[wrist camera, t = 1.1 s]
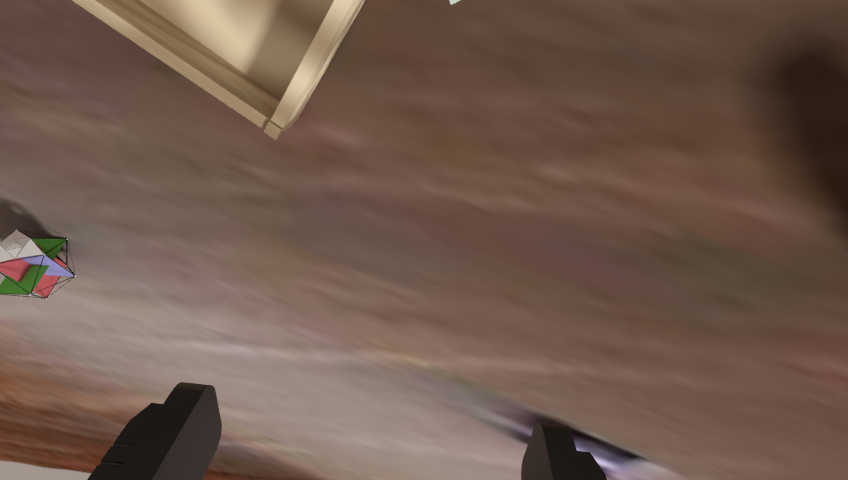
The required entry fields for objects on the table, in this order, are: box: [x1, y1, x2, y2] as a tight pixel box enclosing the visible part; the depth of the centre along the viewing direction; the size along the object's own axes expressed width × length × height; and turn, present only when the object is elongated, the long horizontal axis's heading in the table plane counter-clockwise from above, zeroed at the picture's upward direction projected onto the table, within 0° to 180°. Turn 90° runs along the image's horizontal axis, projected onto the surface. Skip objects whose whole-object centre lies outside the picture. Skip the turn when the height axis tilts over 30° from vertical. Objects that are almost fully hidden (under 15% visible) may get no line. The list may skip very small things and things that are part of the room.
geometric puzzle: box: [0, 229, 76, 299], centre depth 46 cm, size 7×7×8 cm
